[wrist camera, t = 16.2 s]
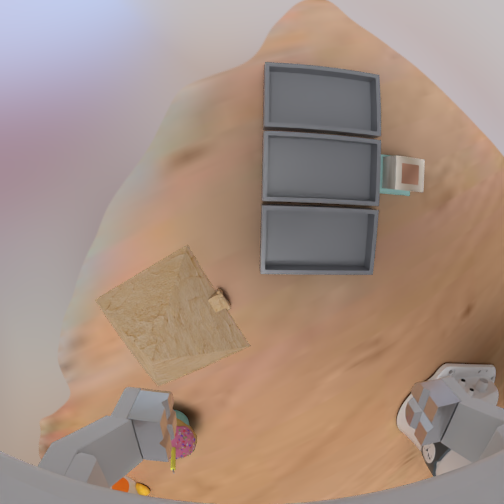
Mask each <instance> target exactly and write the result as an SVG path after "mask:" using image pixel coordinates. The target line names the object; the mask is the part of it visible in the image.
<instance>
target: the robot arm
mask: <svg viewBox="0 0 504 504" xmlns="http://www.w3.org/2000/svg"><path fill="white" fill-rule="evenodd" d="M495 376H496V369H495V367H494V366H493V365H483V364H451V363H446V364H444V365H442V366H441V367H440V368H439V369H438V370H437V371H436V373H435V374H434V375H433V376H432V377H431V378H430V379H429V380H427V381H424V382H418V383H415V384H414V386H413V388H412V391H411V394H410V396H409V397H408V398H407V399H406V400H405V402H404V403H403V405H402V406H401V408H400V410H399V413H398V416H397V426H398V428H399V430H400V431H401V432H402V433H404V434H405V435H406V436H407V437H408V438H409V439H410V440H411V441H412V442H413V443H414V444H415V445H416V446H417V447H418V449H419V450H420V451H421V452H422V455H423V458H424V460H425V462H426V464H427V466H428V468H429V470H430V471H431V473H432V475H433V476H434V477H431V478H428V479H425V480H421V481H418V482H414V483H411V484H407V485H403V486H399V487H395V488H391V489H386V490H382V491H377V492H372V493H367V494H362V495H357V496H351V497H344V498H338V499H330V500H322V501H313V502H302V503H288V504H504V409H503V408H501V407H498V406H496V405H497V402H498V397H499V393H498V389H497V387H496V386H495V384H494V381H495ZM173 404H174V398H173V394H172V392H167V391H159V390H150V389H143V388H142V389H141V388H134V387H127V388H125V390H124V392H123V393H122V395H121V397H120V399H119V401H118V403H117V405H116V407H115V409H114V411H113V413H112V414H111V416H105V417H103V418H101V419H99V420H97V421H95V422H93V423H91V424H89V425H87V426H85V427H83V428H81V429H79V430H78V431H76V432H74V433H71V434H69V435H67V436H65V437H63V438H61V439H59V440H57V441H55V442H53V443H52V444H51V445H50V447H49V449H48V450H47V452H46V453H45V455H44V457H43V458H42V460H41V462H40V463H39V465H38V466H34V465H32V464H29V463H27V462H25V461H22V460H19V459H17V458H15V457H13V456H10V455H8V454H6V453H4V452H2V451H0V504H212V503H198V502H187V501H178V500H170V499H162V498H156V497H149V496H144V495H138V494H133V493H128V492H123V491H118V490H114V489H110V487H111V486H113V485H114V484H115V483H116V482H118V481H119V480H120V479H121V478H123V477H124V476H125V475H126V474H127V473H129V472H130V471H131V470H132V469H133V468H135V467H136V466H137V465H138V464H139V463H140V462H142V461H143V459H146V460H154V461H163V462H169V459H170V455H171V451H172V444H171V440H173V439H174V438H175V434H176V426H177V420H176V412H175V411H174V410H173V409H172V407H173Z"/></svg>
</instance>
